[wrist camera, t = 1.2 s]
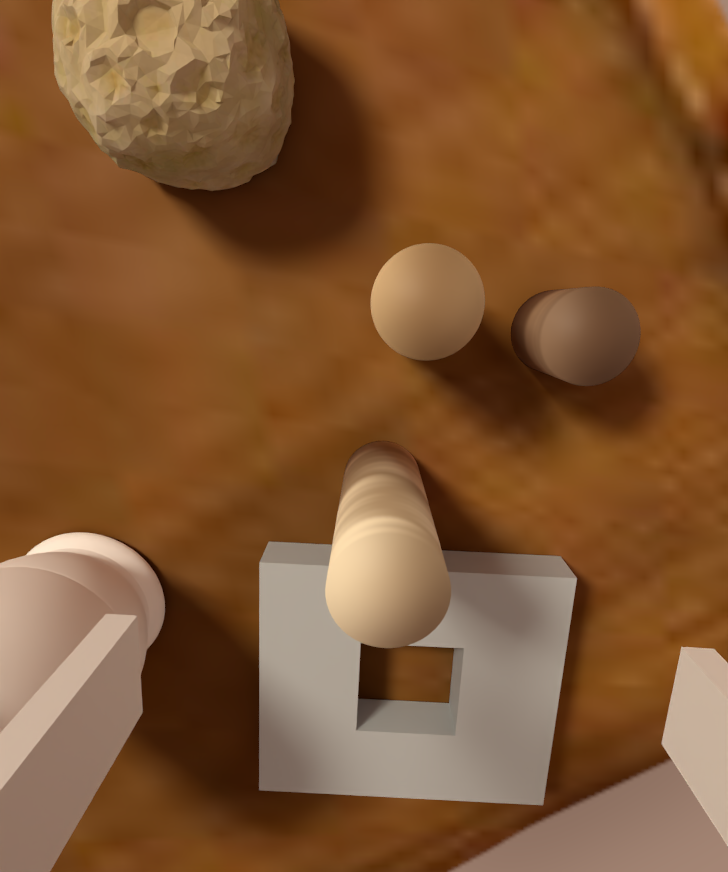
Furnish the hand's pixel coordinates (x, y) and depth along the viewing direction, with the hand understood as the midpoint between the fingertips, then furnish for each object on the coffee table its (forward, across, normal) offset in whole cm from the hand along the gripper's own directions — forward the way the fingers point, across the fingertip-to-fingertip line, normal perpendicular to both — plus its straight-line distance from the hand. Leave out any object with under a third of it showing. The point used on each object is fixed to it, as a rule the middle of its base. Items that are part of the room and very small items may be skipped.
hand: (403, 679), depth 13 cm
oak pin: (+16, 0, +9) cm, 18 cm away
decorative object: (+16, -10, +18) cm, 26 cm away
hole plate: (+16, +2, -11) cm, 20 cm away
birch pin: (+16, 0, 0) cm, 16 cm away
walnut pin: (+16, +8, +8) cm, 20 cm away
